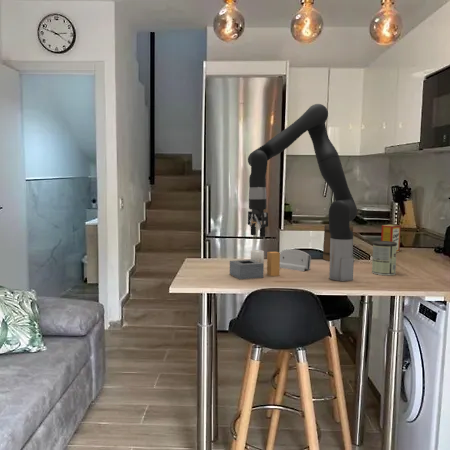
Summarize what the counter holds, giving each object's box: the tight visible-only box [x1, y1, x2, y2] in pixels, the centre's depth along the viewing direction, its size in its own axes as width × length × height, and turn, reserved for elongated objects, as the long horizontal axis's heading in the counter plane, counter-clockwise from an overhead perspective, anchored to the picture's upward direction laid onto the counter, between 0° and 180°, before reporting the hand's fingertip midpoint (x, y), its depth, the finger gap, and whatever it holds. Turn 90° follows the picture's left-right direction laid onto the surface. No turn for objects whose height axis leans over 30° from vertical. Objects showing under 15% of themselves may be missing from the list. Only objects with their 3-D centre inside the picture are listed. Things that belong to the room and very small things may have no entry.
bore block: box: [229, 259, 265, 280], centre depth 205 cm, size 11×11×6 cm
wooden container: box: [322, 223, 354, 262], centre depth 249 cm, size 15×15×22 cm
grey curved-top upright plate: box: [279, 248, 312, 272], centre depth 224 cm, size 17×5×10 cm, turn 49°
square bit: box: [266, 251, 281, 277], centre depth 207 cm, size 4×4×10 cm
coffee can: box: [371, 240, 397, 276], centre depth 213 cm, size 10×10×14 cm
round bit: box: [250, 249, 265, 265], centre depth 218 cm, size 6×6×9 cm
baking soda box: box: [380, 224, 402, 252], centre depth 278 cm, size 10×6×16 cm
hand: (257, 236), depth 203 cm, fingers open, 8 cm apart
